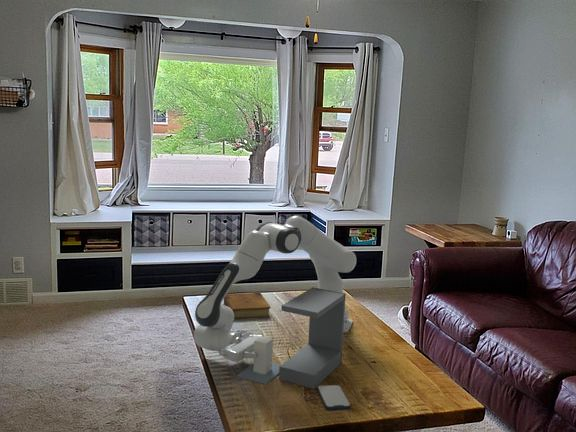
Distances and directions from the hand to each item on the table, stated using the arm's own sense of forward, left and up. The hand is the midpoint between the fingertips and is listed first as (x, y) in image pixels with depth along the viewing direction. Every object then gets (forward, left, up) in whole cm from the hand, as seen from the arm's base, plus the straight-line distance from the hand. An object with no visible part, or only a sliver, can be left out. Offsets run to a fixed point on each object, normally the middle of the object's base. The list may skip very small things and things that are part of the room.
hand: (263, 351), depth 207 cm
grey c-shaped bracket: (-11, +15, -8) cm, 20 cm away
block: (0, 0, -7) cm, 8 cm away
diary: (-55, -41, -9) cm, 69 cm away
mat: (0, 0, -8) cm, 8 cm away
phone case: (+5, +30, -9) cm, 32 cm away
